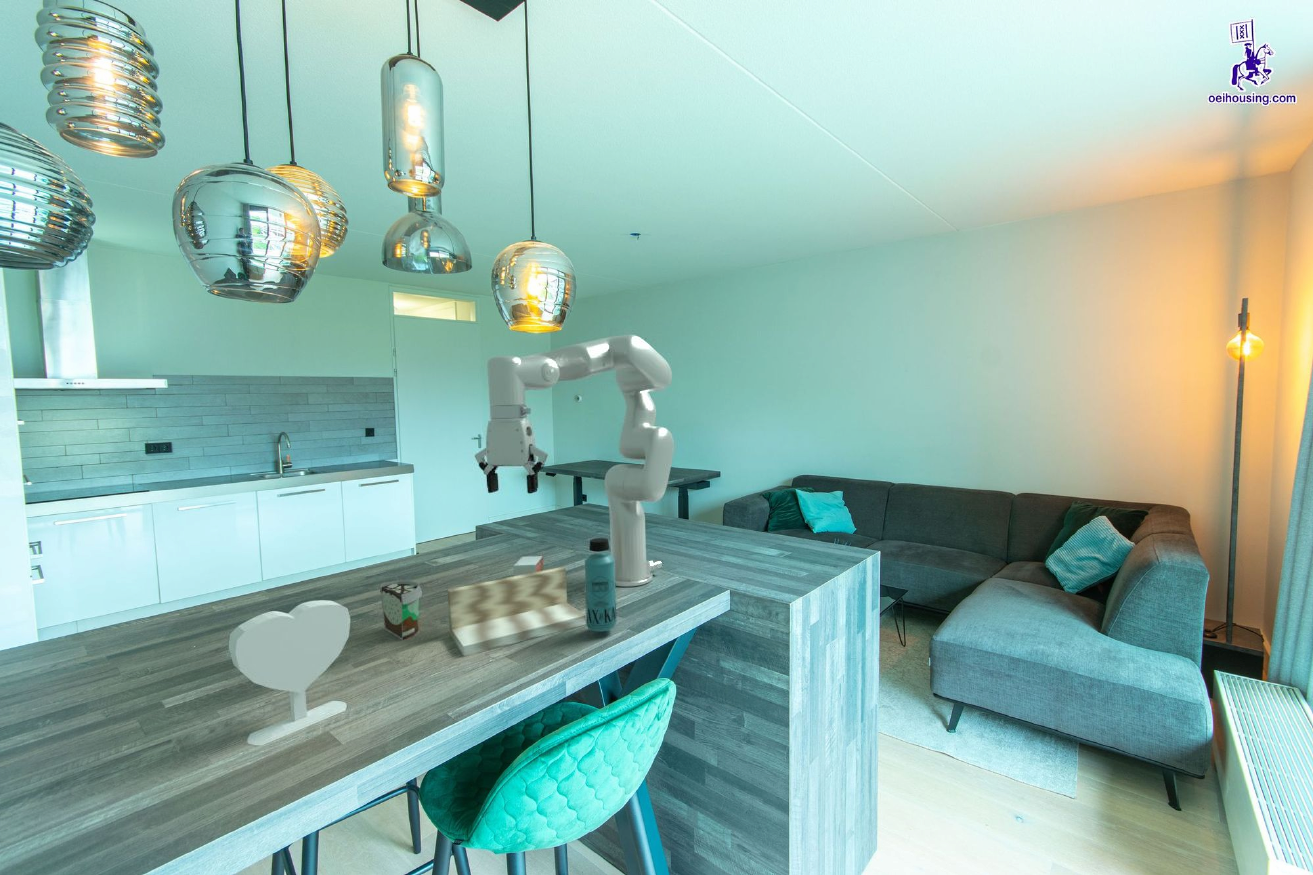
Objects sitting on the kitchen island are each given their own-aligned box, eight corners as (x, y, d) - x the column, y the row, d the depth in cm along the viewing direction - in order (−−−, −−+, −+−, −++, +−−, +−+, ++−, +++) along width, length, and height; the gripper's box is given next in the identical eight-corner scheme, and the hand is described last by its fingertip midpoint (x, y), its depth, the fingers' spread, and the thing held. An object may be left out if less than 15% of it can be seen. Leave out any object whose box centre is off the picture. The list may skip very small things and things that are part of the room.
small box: (538, 608, 134) (536, 564, 133) (514, 608, 134) (512, 565, 133) (545, 596, 142) (543, 555, 141) (523, 596, 142) (521, 556, 141)
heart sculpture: (345, 695, 95) (338, 592, 94) (358, 705, 92) (351, 598, 91) (234, 739, 83) (224, 621, 82) (244, 752, 80) (234, 629, 79)
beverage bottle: (582, 629, 120) (578, 537, 119) (612, 624, 122) (608, 533, 121) (591, 641, 114) (587, 544, 113) (622, 635, 116) (618, 540, 115)
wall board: (564, 608, 133) (562, 566, 132) (585, 624, 123) (583, 579, 122) (450, 635, 119) (447, 589, 118) (463, 656, 109) (461, 606, 108)
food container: (434, 632, 121) (431, 587, 120) (405, 642, 116) (402, 595, 116) (409, 618, 129) (407, 576, 129) (382, 627, 125) (379, 583, 124)
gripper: (552, 412, 122) (556, 489, 123) (483, 414, 127) (488, 488, 128) (535, 413, 115) (539, 495, 116) (463, 415, 120) (468, 494, 121)
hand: (512, 492), depth 122 cm, fingers open, 9 cm apart
